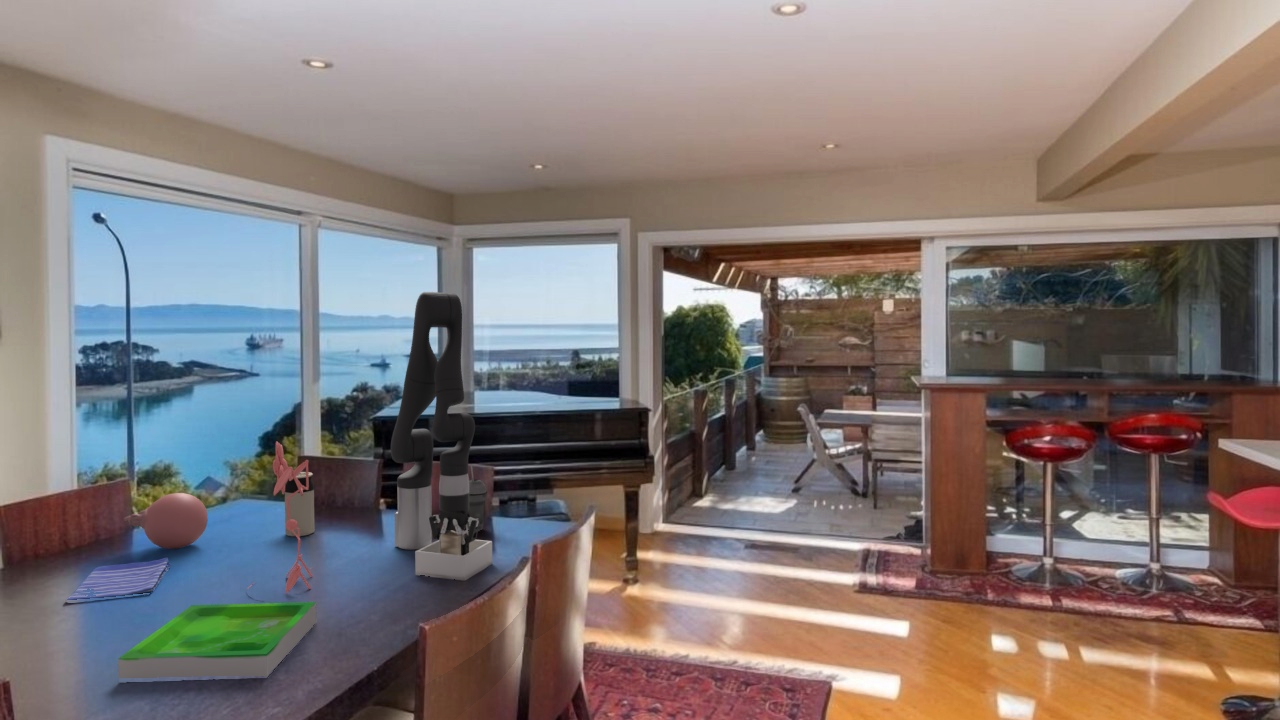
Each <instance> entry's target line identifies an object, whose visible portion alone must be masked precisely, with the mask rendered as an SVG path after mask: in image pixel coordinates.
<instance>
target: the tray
mask: <svg viewBox="0 0 1280 720" xmlns="http://www.w3.org/2000/svg"><path fill="white" fill-rule="evenodd" d="M315 623H316V624H317V601H308V602H305V601H304V602H303V601H302V602H301V601H300V602H299V601H298V602H267V603H266V602H264V603H263V602H262V603H261V602H260V603H225V604H193V605H190V606H189V607H187V608H186V609H185V610H183V611H182V612H181V613H179V614H177V615H176V616H175V617H174V618H173V619H171V620H170V621H168V622H167V623H166V624H164V625H162V626H161V627H160V628H159V629H157V630H155V631H154V632H153V633H151V634H150V635H149V636H147V637H146V638H144V639H143V640H142V641H140V642H139V643H137V644H136V645H134V647H133V646H132V648H130V649H129V650H128V651H127V652H125V653H123V655H121V656H120V657H118V659H117V662H118V663H117V666H118V670H117V671H118V679H119V678H157V677H159V678H160V677H192V676H193V677H201V676H268V675H269V674H270V672H271V671H272V670H273V669H274V668H275V667H276V666H277V665H278V664H279V663H280V662H281V661H282V659H283V658H284V657H285V656H286V655H287V654H288V653H289V652H290V650H291V649H292V648H293V647H294V646H295V645H296V644H297V643H298V642H299V641H300V639H301V638H302V637H303V636H304V635H305V634H306V633H307V632H308V631H309V630H310V629H311V627H312V628H314V626H315V625H316V624H315ZM314 624H315V625H314ZM313 625H314V626H313ZM311 630H312V629H311ZM311 630H310V631H311ZM310 631H309V632H310ZM309 632H308V633H309ZM308 633H307V634H308ZM307 634H306V635H307ZM306 635H305V636H306ZM300 642H301V641H300ZM300 642H299V643H300ZM299 643H298V644H299ZM298 644H297V645H298ZM290 653H291V652H290ZM290 653H289V654H290ZM282 662H283V661H282Z"/></svg>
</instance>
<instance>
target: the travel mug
mask: <svg viewBox="0 0 1280 720" xmlns="http://www.w3.org/2000/svg"><path fill="white" fill-rule="evenodd" d="M313 475H314V473H312V472H310V471H308V480H309V488H308V490H306V489H304V490H303V496H301V494H300V492H298V493H296V494H295V495H294V496H292V497H291V498H289V508H290V519H294V520H296V521H297V523H298V527H297V528H299V529H300V537H306V536H309V535H312V534H313V533H314V532H315V488H314V487H315V486H314V482H313V480H312V478H313ZM289 478H290V477H289ZM296 478H297V479H298V480H299V482H300V483H301V485H303V486H305V487H306V471H301V472H300V473H299V474H298V475H297V476H296ZM297 490H299V489H298V487H297V485H296V482H295V480H294V478H293V479H292V480H291V481H289V479H288V481H287V482H286V484H285V493H284V511H285V512H284V515H285V516H284V522H285V523H284V524H285V525H284V527H285V528H284V530H285V533H284V534H285V535H286V536H288V537H293V538H295V537H296V536H295V535H294V534H293V532H292V531H289V530H287V528H286V523H287V521H288V520H289V518H288V510H287V502H286V499H287V497H288V496H290V495H291V494H293V493H294V492H296V491H297ZM293 531H294V532H295V534H296V535H297V536H298V529H295V530H293ZM296 538H297V537H296Z"/></svg>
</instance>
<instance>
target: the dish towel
mask: <svg viewBox="0 0 1280 720" xmlns="http://www.w3.org/2000/svg"><path fill="white" fill-rule="evenodd" d="M170 566H171V567H172V564H171V563H170V561H169V558H168V557H164V558H160V559H156V560H151V561H150V560H149V561H143V562H128V563H125V564H121V563H120V564H113V565H111V564H110V565H103V566H98V567H97V566H96V567H95V568H94V569H93V570H92V571H91V572H90V573H89V575H88V576H87V577H86V578H85V579H84V580H83V582H81V584H80V585H79V586H78V587H76V589H77V590H76V589H75V590H76V591H75V590H74V591H75V593H74V592H73V593H72V594H78V593H90V592H94V593H96V592H100V594H93V595H96V596H93V597H91V596H90V597H87V596H88V594H87V595H86V596H85V595H72V594H71V595H72V596H71V595H70V596H69V598H68V597H67V598H68V599H67V598H66V599H67V600H77V599H90V598H104V597H116V596H125V595H133V594H143V593H151V592H152V591H153V590H154V588H155V589H157V587H158V586H159V584H160V583H161V581H162V580H163V579H162V577H163V575H164V573H165V572H167V571H168V572H169V570H170V569H171V567H170ZM169 568H170V569H169ZM168 569H169V570H168ZM168 572H167V573H168ZM163 578H164V577H163ZM161 579H162V580H161ZM160 580H161V581H160ZM159 582H160V583H159ZM158 583H159V584H158ZM157 585H158V586H157ZM156 586H157V587H156ZM88 588H89V589H90V590H91V589H94V591H89V592H83V590H87V589H88ZM154 591H155V590H154ZM101 592H106V593H101ZM152 593H153V592H152ZM152 593H151V594H152Z"/></svg>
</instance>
